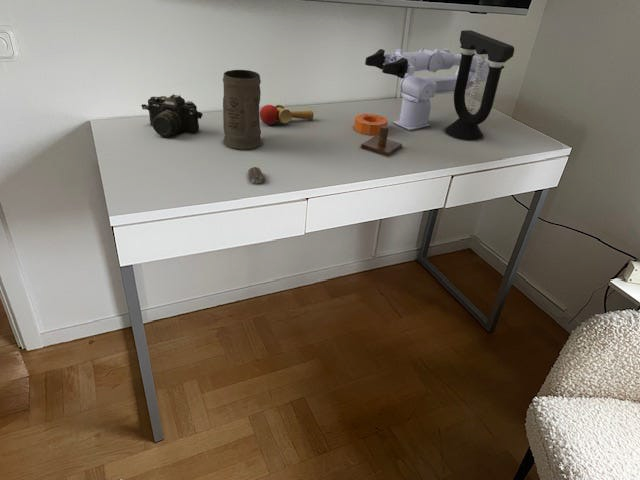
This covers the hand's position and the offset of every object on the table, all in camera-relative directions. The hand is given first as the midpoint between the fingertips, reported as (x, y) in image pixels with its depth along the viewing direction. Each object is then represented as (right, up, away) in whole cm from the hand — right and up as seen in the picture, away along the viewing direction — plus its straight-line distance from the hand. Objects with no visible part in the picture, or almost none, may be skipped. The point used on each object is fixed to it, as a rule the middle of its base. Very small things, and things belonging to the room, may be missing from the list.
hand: (374, 65), depth 144 cm
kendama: (-27, -13, +16) cm, 34 cm away
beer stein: (-38, -22, +1) cm, 44 cm away
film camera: (-59, -19, +2) cm, 62 cm away
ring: (0, -15, +16) cm, 22 cm away
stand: (+2, -23, +4) cm, 24 cm away
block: (-32, -35, -19) cm, 51 cm away
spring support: (+32, -17, +18) cm, 40 cm away
